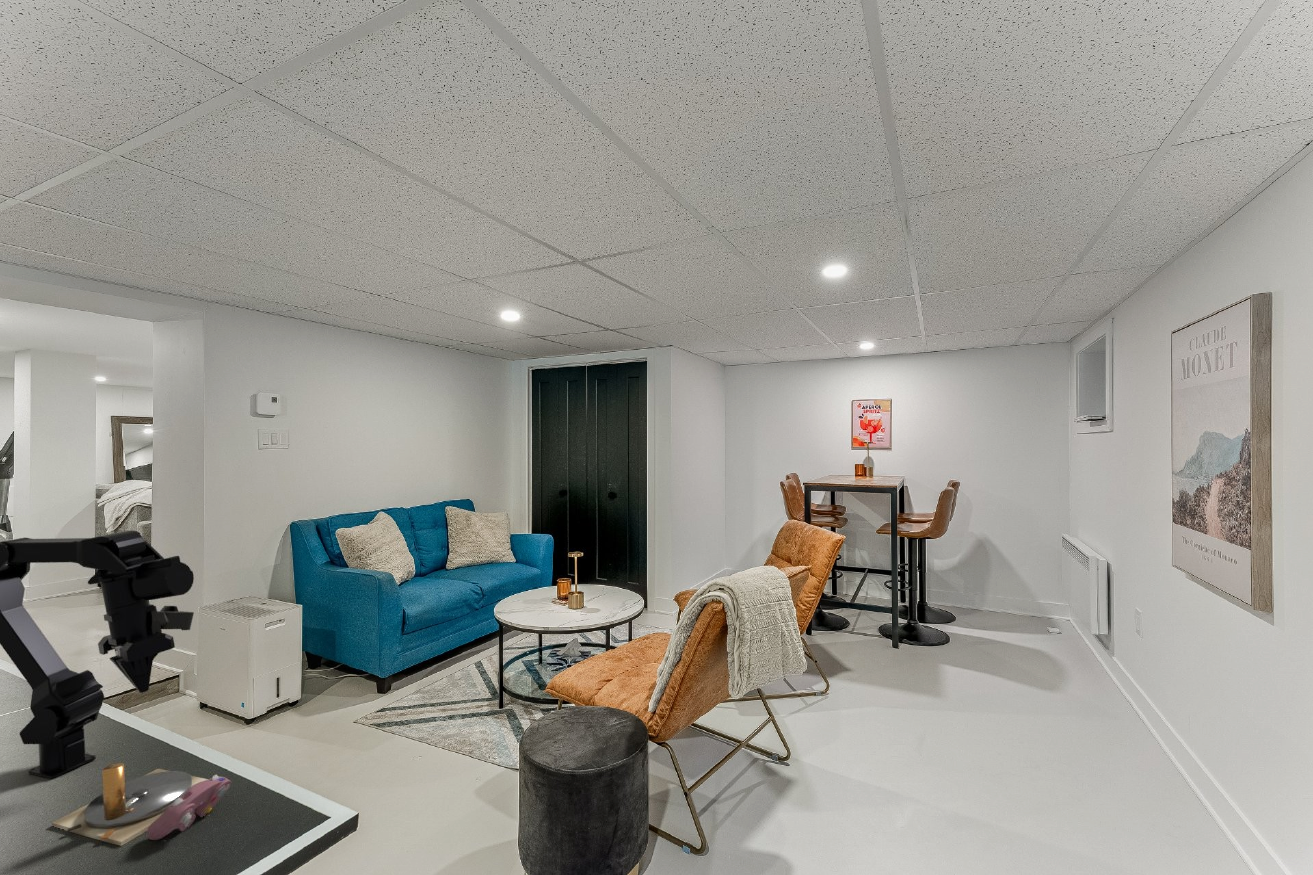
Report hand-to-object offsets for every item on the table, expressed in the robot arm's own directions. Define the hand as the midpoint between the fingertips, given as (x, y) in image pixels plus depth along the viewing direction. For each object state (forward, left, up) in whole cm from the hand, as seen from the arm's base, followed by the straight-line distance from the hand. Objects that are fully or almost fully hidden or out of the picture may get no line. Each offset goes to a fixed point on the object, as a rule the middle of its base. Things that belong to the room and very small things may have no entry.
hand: (144, 691), depth 105 cm
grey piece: (+11, -8, -13) cm, 19 cm away
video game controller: (+23, -8, -14) cm, 28 cm away
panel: (+11, -8, -13) cm, 19 cm away
